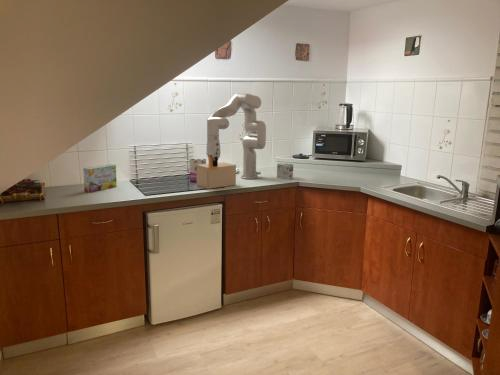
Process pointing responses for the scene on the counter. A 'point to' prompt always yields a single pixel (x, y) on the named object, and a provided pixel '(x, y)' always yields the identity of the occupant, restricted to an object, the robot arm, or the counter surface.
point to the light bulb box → (285, 170)
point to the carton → (206, 174)
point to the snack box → (99, 177)
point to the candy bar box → (195, 167)
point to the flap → (221, 175)
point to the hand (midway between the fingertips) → (213, 165)
